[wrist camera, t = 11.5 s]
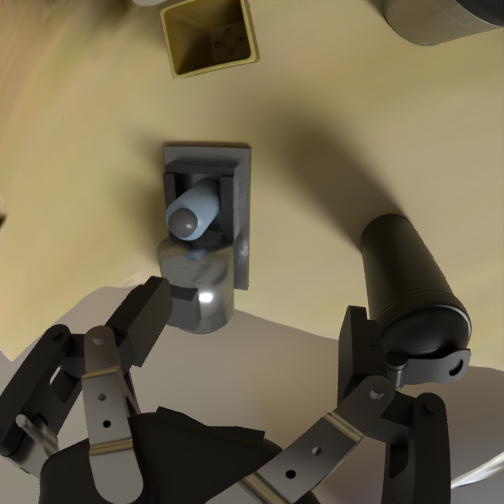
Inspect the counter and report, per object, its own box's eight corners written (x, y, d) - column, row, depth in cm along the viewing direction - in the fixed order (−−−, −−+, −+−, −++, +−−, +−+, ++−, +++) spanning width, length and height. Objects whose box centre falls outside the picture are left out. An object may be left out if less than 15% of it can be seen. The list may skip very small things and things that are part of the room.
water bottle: (421, 266, 40) (466, 394, 21) (357, 276, 43) (369, 412, 24) (421, 204, 36) (495, 321, 16) (350, 213, 39) (371, 344, 19)
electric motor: (166, 145, 39) (110, 172, 28) (251, 147, 37) (220, 176, 26) (180, 286, 51) (147, 339, 40) (248, 297, 50) (227, 358, 38)
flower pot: (202, 81, 34) (171, 81, 26) (191, 22, 29) (158, 9, 22) (270, 67, 31) (256, 60, 24) (258, 6, 27) (240, -16, 19)
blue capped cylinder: (189, 179, 40) (158, 203, 32) (224, 180, 39) (200, 205, 31) (191, 212, 42) (163, 242, 34) (225, 215, 42) (203, 247, 34)
